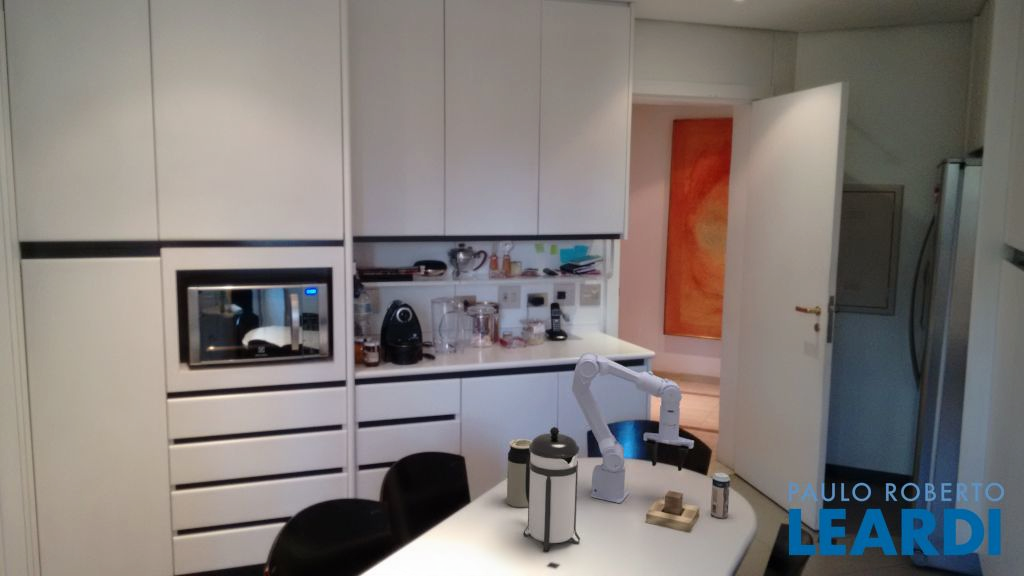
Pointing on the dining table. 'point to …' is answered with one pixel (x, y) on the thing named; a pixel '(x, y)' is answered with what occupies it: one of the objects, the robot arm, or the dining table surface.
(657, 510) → the oak socket block
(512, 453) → the travel mug
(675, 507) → the walnut peg
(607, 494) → the robot arm
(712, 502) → the beer can
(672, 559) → the dining table surface
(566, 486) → the coffee press
